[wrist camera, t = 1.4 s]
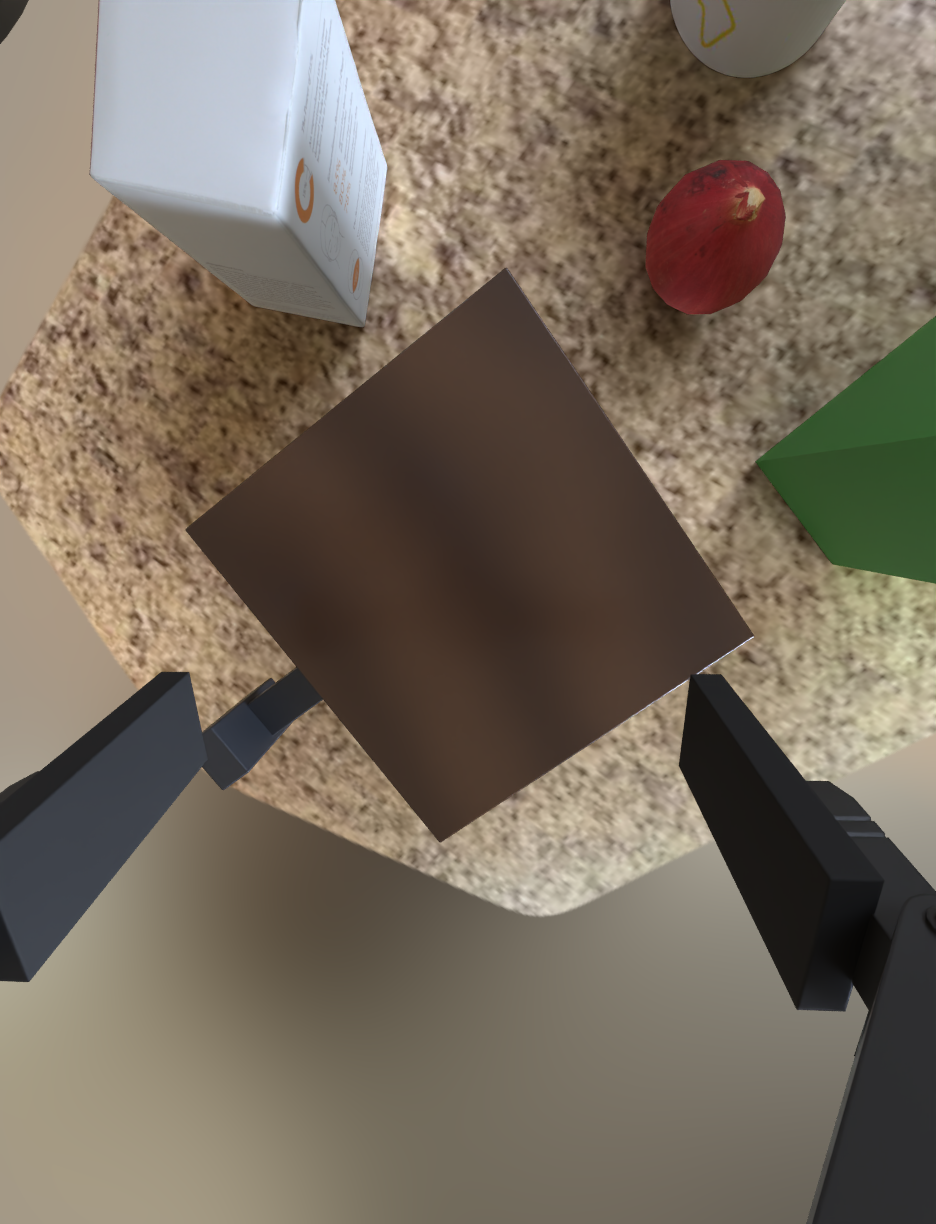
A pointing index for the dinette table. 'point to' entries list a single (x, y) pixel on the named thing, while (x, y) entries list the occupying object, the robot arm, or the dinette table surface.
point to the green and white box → (870, 466)
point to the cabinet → (471, 564)
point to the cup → (751, 32)
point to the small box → (244, 145)
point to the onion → (715, 236)
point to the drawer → (255, 726)
